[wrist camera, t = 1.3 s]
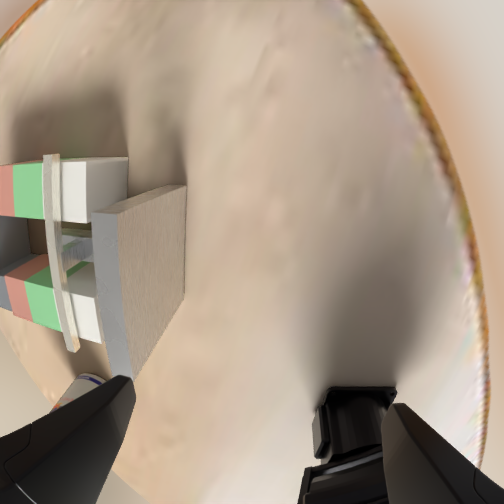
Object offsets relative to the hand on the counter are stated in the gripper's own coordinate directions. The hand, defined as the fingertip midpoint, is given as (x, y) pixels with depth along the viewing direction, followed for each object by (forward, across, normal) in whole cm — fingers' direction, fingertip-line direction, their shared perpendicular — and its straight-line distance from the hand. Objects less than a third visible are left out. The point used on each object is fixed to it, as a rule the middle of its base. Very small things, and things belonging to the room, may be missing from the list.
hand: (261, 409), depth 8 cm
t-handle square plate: (+13, +10, 0) cm, 17 cm away
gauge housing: (+13, +16, 0) cm, 21 cm away
